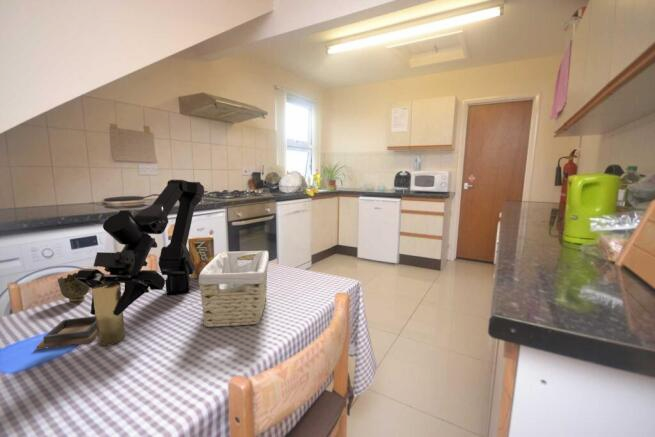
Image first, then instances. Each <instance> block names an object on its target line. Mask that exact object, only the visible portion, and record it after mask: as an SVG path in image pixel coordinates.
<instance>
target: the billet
mask: <svg viewBox="0 0 655 437" xmlns="http://www.w3.org/2000/svg"><path fill="white" fill-rule="evenodd" d="M121 288H122V287H121V283H119V282H109V283H103V284H99V285H97V286H95V287H93V288H91V291H92V290H93V299H94V308H95V315H94V316H95V317H96V327H97V343H98V345H99V346H111V345H114V344H117V343H119V342H121V341H123V339H125V338H126V332H125V321H124V311H123V312H122V313H120V314H119V315H115V314H114V312H115V310H116V307H117V305H118V303H119V301H120V298H121V296H122V289H121Z"/></svg>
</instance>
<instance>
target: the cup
mask: <svg viewBox="0 0 655 437" xmlns="http://www.w3.org/2000/svg"><path fill="white" fill-rule="evenodd" d="M77 273H78V272H74V273H72V274H70V273H69V274H67V275H66V277H63V276H60V277H59V278H57V283H58V286H59V290H60V293H61V294H62V296H63V297H64V298H66V299H68V303H69V304H76V303H81V302H83V301H84V300H85V298H86V296H85V295H87V294H88V293H89V291H90V289H91V288H89V287H87V286H86V285H84V284H82V283H81V282H79V281H77V280H75V279H74V278H75V276H76V275H77Z"/></svg>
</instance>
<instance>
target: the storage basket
mask: <svg viewBox="0 0 655 437" xmlns="http://www.w3.org/2000/svg"><path fill="white" fill-rule="evenodd" d="M269 259H270V258H269V251H268V250H244V251H243V250H242V251H241V250H239V251H223V252H220V253H218V254H217V255H216V256H214V258H213V260H212V261H211V262H210V263H209V264H207V265H206V266H205V267H204V268H203V270H202V271H201V273H200V275H199V278H198V285H199V292H200V297H201V307H202V317H203V323H202V324H203V325H204V326H205V327H209V328H210V327H217V328H218V327H230V326H233V327H237V326H249V325H257V324H259V323H260V321H261V318H262V315H263V310H264V308H265V304H266V298H267V297H266V295H267V290H268V286H267V284H268V280H267V279H268V268H269V261H270V260H269ZM238 261H251V262H249V263H246V264H243V265H239V264H238Z"/></svg>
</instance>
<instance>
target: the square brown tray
mask: <svg viewBox="0 0 655 437" xmlns="http://www.w3.org/2000/svg"><path fill="white" fill-rule="evenodd" d="M42 338H43V340H42V341H41V342H39V343H38V344H37V345H36V350H37V349H38V350H42V349H41V348H45V349H50V348H49V347H52V348H57V347H56V346H59V347H64V346H63V345H66V346H72V345H71V344H74V345H79V344H86V343H92V342H94V340H96V338H98V336H97V327H96V317H95V315H92V316H83V317H77V318H76V317H75V318H74V317H73V318H67V319H65V318H64V319H62V321H61V322H59V323H57V325H56V326H55V327H53V328H52V329H51V330H50V331H49V332H47V333H46V334H45V335H44V336H42ZM46 347H48V348H46Z"/></svg>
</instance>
